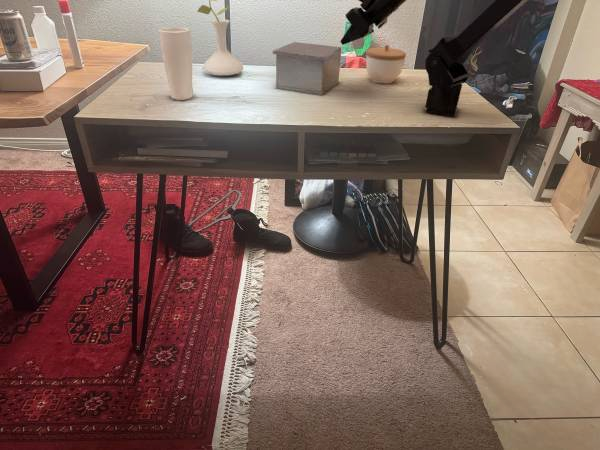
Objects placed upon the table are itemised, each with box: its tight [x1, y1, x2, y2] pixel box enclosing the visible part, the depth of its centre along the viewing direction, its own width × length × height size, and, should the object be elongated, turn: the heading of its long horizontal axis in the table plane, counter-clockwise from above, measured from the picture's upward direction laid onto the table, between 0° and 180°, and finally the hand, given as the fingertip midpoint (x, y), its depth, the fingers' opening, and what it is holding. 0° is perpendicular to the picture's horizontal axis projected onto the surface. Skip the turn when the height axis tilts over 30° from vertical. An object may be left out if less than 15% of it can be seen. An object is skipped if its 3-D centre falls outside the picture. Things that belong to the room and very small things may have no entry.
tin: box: [275, 50, 342, 96], centre depth 113 cm, size 13×14×8 cm
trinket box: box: [365, 44, 407, 84], centre depth 119 cm, size 11×11×9 cm
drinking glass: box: [158, 26, 194, 101], centre depth 98 cm, size 7×7×15 cm
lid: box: [272, 41, 342, 60], centre depth 110 cm, size 14×14×1 cm
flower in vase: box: [196, 0, 245, 77], centre depth 115 cm, size 13×11×25 cm
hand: (341, 43), depth 106 cm, fingers closed
